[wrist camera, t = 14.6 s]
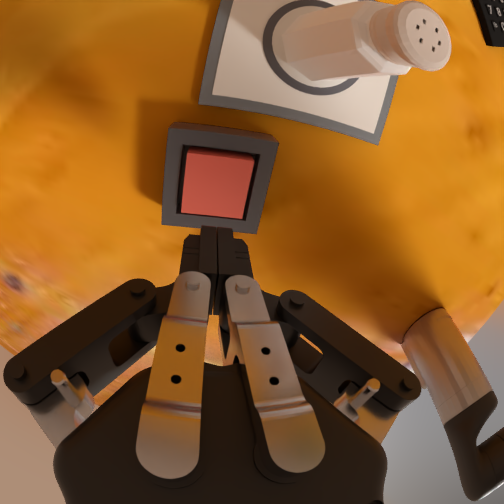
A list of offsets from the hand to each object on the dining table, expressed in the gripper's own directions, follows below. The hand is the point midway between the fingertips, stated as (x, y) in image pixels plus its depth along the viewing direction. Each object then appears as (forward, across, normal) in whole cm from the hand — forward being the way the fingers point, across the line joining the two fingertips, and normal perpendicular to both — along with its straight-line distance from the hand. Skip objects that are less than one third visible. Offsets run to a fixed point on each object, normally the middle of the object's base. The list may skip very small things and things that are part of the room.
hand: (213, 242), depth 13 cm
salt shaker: (+8, -5, -12) cm, 15 cm away
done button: (+7, 0, -1) cm, 7 cm away
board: (+8, -5, -12) cm, 15 cm away
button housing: (+8, 0, -1) cm, 8 cm away
